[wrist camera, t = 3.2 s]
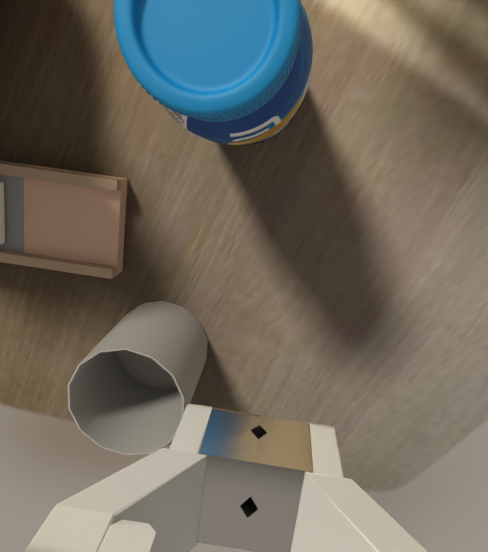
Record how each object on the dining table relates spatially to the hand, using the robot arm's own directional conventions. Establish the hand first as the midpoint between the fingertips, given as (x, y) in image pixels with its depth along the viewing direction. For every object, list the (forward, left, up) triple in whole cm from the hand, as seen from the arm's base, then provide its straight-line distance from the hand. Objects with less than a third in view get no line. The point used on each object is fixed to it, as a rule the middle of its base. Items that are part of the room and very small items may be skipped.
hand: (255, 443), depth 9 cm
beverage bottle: (-10, -4, -30) cm, 31 cm away
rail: (+2, -25, -29) cm, 38 cm away
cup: (+12, -9, -30) cm, 33 cm away
